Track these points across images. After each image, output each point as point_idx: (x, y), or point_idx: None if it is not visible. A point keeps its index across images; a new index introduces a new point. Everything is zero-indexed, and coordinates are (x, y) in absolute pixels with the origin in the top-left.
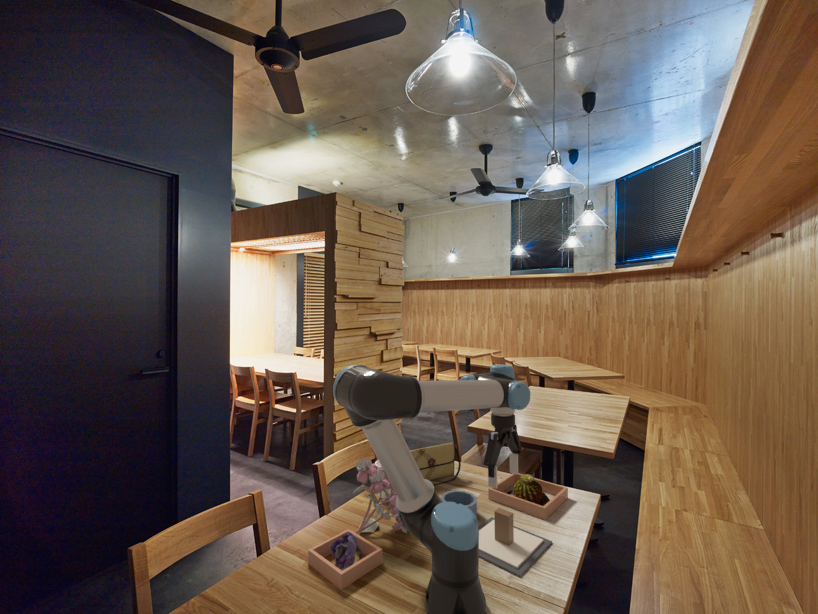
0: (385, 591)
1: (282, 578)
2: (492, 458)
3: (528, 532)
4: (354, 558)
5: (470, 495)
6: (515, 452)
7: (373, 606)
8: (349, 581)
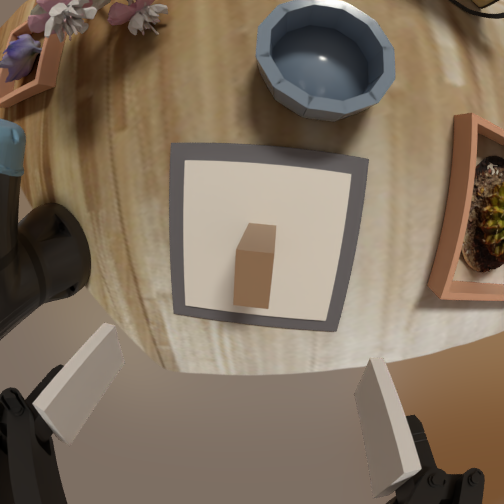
0: None
1: (3, 50)
2: (6, 461)
3: (346, 278)
4: (27, 69)
5: (382, 74)
6: (399, 495)
7: None
8: (12, 103)
